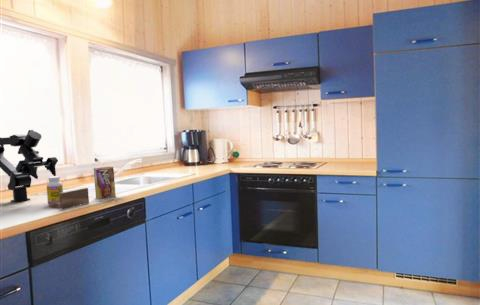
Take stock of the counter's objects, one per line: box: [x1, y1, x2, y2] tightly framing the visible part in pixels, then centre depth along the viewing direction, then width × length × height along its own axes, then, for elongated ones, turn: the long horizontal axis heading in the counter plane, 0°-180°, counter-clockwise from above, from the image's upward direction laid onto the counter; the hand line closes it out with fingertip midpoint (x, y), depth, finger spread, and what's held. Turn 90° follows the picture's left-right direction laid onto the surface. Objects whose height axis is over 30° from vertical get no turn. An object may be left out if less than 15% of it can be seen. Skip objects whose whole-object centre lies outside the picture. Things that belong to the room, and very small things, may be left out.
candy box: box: [93, 166, 117, 200], centre depth 185 cm, size 9×4×15 cm, turn 129°
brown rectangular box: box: [48, 187, 90, 210], centre depth 169 cm, size 10×14×7 cm
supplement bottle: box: [46, 175, 64, 205], centre depth 173 cm, size 7×7×13 cm
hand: (46, 177), depth 175 cm, fingers open, 9 cm apart
